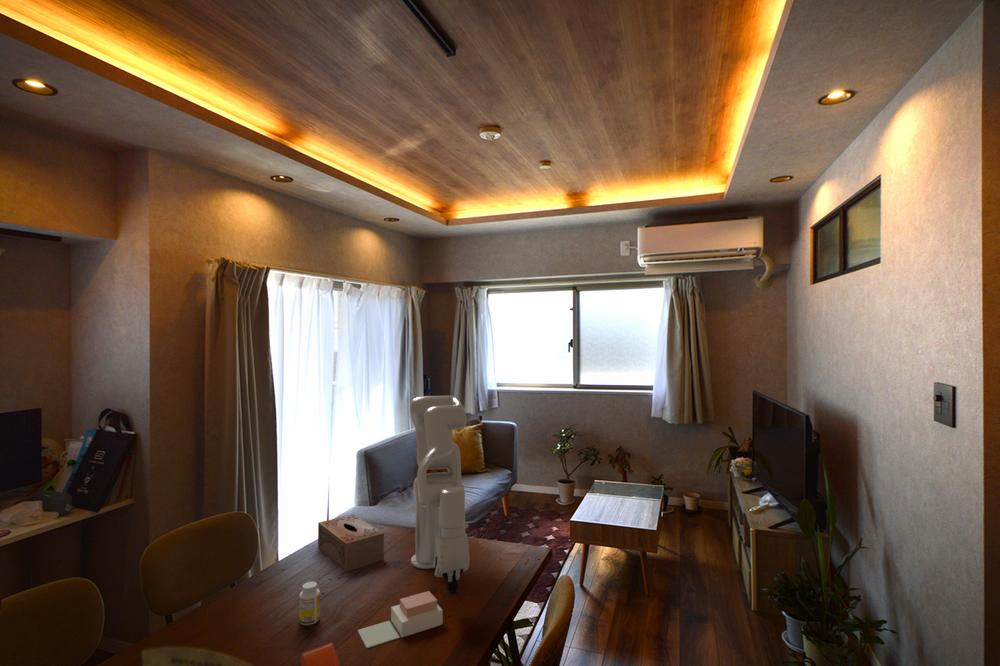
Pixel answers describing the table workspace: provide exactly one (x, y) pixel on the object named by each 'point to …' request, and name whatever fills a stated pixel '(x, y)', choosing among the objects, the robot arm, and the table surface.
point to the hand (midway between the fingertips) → (452, 592)
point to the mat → (378, 634)
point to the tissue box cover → (350, 542)
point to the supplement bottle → (309, 604)
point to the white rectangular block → (415, 620)
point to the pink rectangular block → (418, 604)
